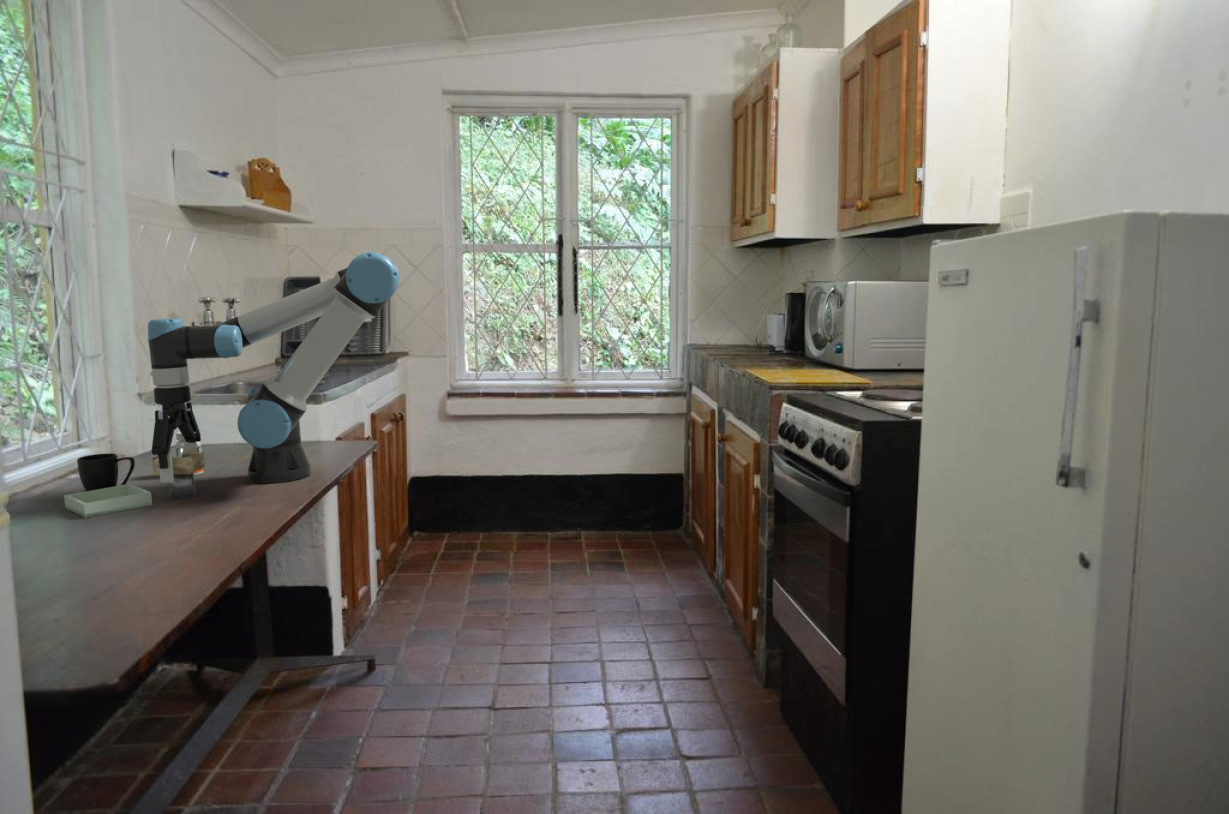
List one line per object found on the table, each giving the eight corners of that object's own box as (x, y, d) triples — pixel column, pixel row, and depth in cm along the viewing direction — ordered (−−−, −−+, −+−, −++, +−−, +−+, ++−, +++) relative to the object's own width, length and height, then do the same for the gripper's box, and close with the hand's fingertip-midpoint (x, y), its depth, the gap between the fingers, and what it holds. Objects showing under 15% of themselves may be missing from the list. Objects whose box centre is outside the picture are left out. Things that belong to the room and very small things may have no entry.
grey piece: (200, 492, 211) (195, 445, 209) (189, 498, 205) (184, 449, 204) (176, 493, 211) (171, 445, 209) (165, 499, 205) (160, 450, 204)
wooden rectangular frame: (204, 466, 211) (203, 452, 211) (190, 473, 203) (188, 458, 203) (163, 468, 211) (162, 453, 210) (147, 475, 203) (146, 460, 203)
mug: (130, 497, 208) (126, 458, 206) (75, 501, 206) (70, 461, 205) (143, 489, 216) (139, 451, 214) (90, 493, 214) (85, 454, 213)
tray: (130, 496, 209) (128, 483, 209) (152, 504, 200) (150, 492, 200) (65, 508, 199) (63, 495, 199) (85, 518, 190) (84, 504, 190)
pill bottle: (177, 478, 228) (172, 434, 226) (178, 473, 234) (174, 431, 232) (203, 475, 230) (199, 432, 229) (204, 470, 236) (200, 429, 234)
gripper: (178, 380, 216) (187, 464, 220) (128, 393, 192) (138, 488, 195) (210, 379, 217) (218, 463, 220) (163, 392, 192) (172, 487, 195)
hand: (180, 475), depth 207 cm, fingers open, 13 cm apart
